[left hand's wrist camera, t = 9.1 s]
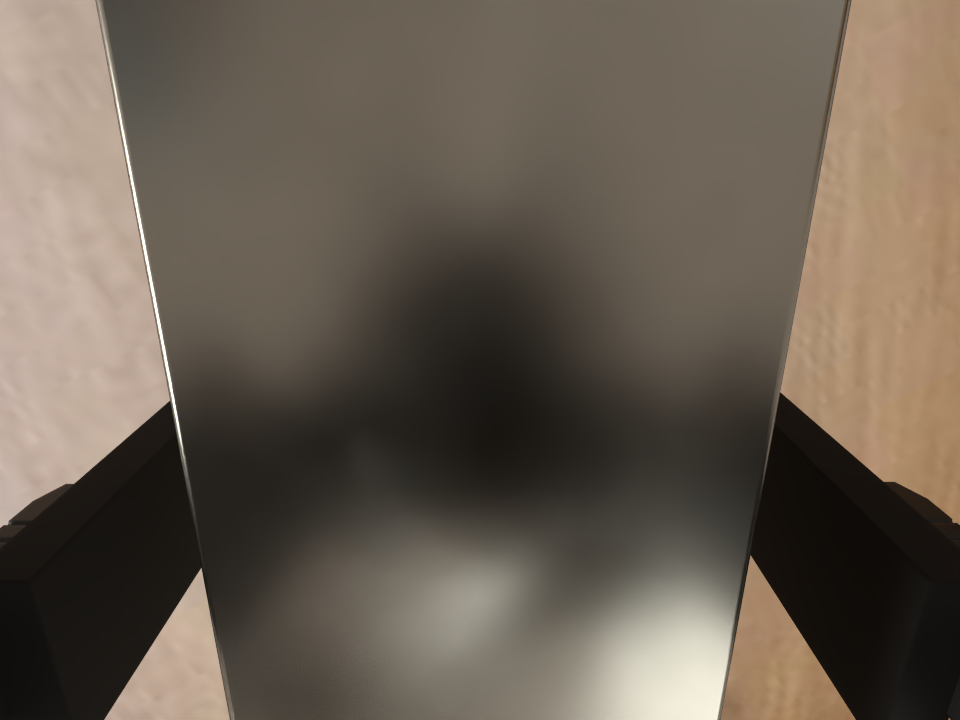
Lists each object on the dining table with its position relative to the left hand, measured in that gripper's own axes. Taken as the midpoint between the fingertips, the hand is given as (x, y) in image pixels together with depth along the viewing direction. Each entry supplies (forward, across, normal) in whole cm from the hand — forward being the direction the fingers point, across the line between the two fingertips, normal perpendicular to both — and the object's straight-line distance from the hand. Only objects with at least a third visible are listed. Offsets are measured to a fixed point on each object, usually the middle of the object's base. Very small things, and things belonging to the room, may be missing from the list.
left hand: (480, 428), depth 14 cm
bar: (+2, 0, -9) cm, 9 cm away
